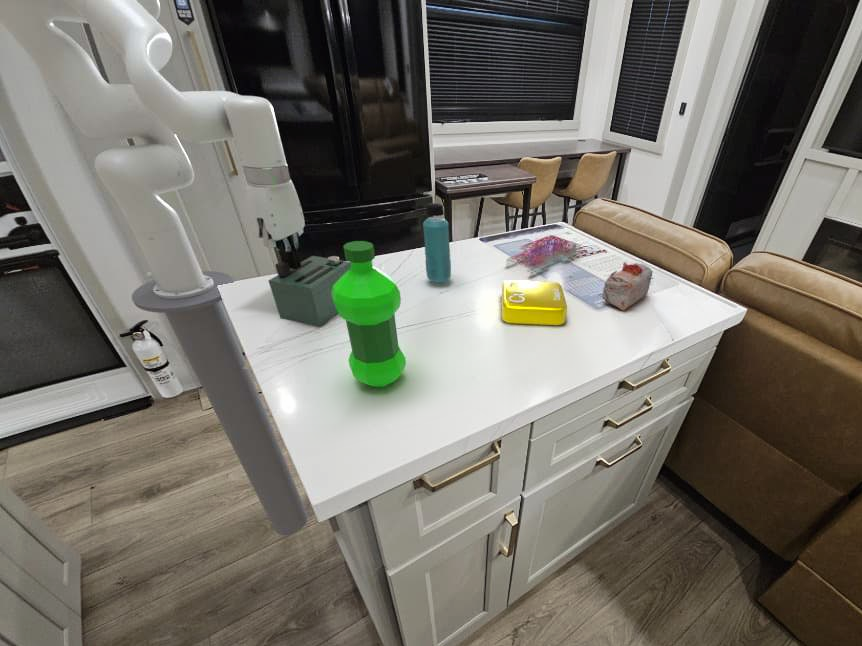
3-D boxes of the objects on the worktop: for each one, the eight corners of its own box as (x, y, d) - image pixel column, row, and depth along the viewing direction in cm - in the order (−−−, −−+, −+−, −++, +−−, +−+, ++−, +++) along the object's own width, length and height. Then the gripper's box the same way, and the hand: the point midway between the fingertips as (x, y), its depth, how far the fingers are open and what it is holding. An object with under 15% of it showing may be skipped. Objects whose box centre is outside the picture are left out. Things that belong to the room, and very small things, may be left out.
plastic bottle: (399, 357, 83) (383, 231, 68) (415, 388, 76) (401, 254, 60) (346, 369, 79) (317, 237, 64) (359, 402, 72) (328, 263, 56)
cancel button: (327, 268, 95) (325, 259, 94) (333, 264, 97) (331, 255, 96) (336, 269, 95) (335, 260, 94) (342, 266, 97) (341, 256, 95)
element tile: (565, 326, 97) (568, 308, 94) (501, 323, 96) (502, 304, 93) (558, 297, 109) (561, 280, 106) (501, 294, 108) (502, 277, 105)
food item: (625, 314, 104) (634, 277, 98) (597, 303, 108) (605, 267, 102) (649, 297, 112) (659, 262, 106) (622, 288, 116) (631, 253, 110)
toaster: (280, 318, 92) (267, 280, 86) (321, 290, 104) (312, 255, 98) (320, 326, 90) (310, 287, 85) (357, 297, 102) (350, 261, 96)
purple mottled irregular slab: (533, 281, 116) (534, 263, 113) (492, 265, 123) (493, 247, 120) (589, 254, 135) (592, 238, 132) (551, 242, 142) (553, 226, 139)
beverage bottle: (455, 285, 111) (453, 206, 99) (432, 289, 108) (427, 209, 96) (445, 275, 115) (442, 199, 103) (422, 279, 112) (416, 201, 100)
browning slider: (278, 275, 88) (274, 264, 86) (284, 272, 90) (281, 261, 88) (284, 277, 88) (281, 265, 86) (291, 273, 89) (288, 262, 88)
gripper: (277, 165, 86) (299, 253, 97) (219, 180, 74) (253, 277, 85) (309, 170, 84) (328, 257, 96) (256, 185, 73) (285, 283, 84)
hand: (292, 267), depth 90 cm, fingers closed
